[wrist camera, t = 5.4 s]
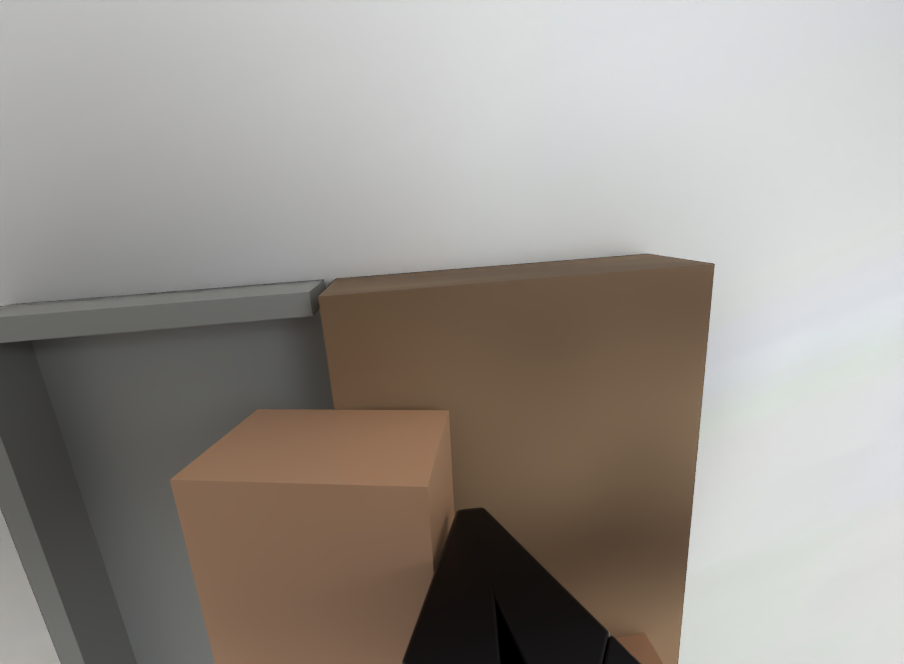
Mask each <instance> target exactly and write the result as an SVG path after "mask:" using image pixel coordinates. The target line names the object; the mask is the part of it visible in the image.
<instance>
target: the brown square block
mask: <svg viewBox="0 0 904 664" xmlns="http://www.w3.org/2000/svg"><path fill="white" fill-rule="evenodd" d="M616 639H617V640H618V641H619V642H620V643H621V644H622V645H623V646H624V647H625V648H626V649H627V650H628V651H629V652H630V653H631V654H632V655H633V656H634V657H635V658H636V659H637V660H638V661H639V662H640V663H641V664H663V663H662V661H661V659H660V657H659V656H658V654H657V652H656V651H655V649H654V647H653V646H652V644H651V642H650V641H649V639H648V637H647V635H646V634H645V633H643V634H637V635H631V636H625V637H619V638H616Z"/></svg>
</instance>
